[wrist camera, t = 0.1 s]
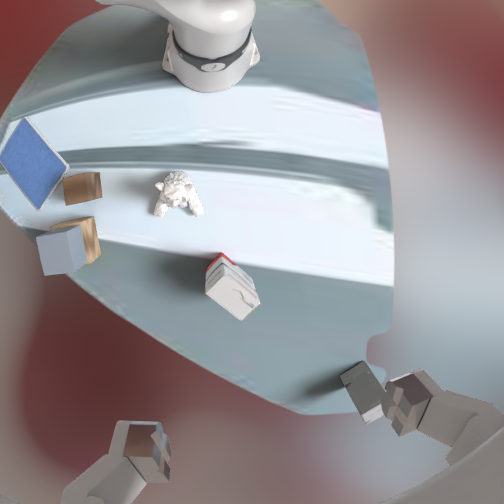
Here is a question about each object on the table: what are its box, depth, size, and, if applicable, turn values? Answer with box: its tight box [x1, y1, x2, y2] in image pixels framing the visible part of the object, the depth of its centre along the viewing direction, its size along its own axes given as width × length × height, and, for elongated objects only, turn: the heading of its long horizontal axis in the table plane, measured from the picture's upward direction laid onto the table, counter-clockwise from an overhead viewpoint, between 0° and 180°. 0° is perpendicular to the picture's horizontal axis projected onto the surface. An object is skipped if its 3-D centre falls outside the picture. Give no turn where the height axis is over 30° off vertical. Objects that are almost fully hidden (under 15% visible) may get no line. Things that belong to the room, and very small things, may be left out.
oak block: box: [49, 216, 101, 264], centre depth 48 cm, size 8×8×6 cm
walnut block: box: [63, 172, 102, 206], centre depth 45 cm, size 5×5×7 cm
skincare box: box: [340, 361, 386, 424], centre depth 64 cm, size 8×7×16 cm
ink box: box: [205, 253, 260, 321], centre depth 52 cm, size 8×5×12 cm, turn 46°
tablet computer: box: [0, 117, 69, 211], centre depth 45 cm, size 19×13×1 cm, turn 43°
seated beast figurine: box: [153, 171, 203, 217], centre depth 46 cm, size 10×9×12 cm
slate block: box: [36, 225, 88, 275], centre depth 43 cm, size 7×7×6 cm
